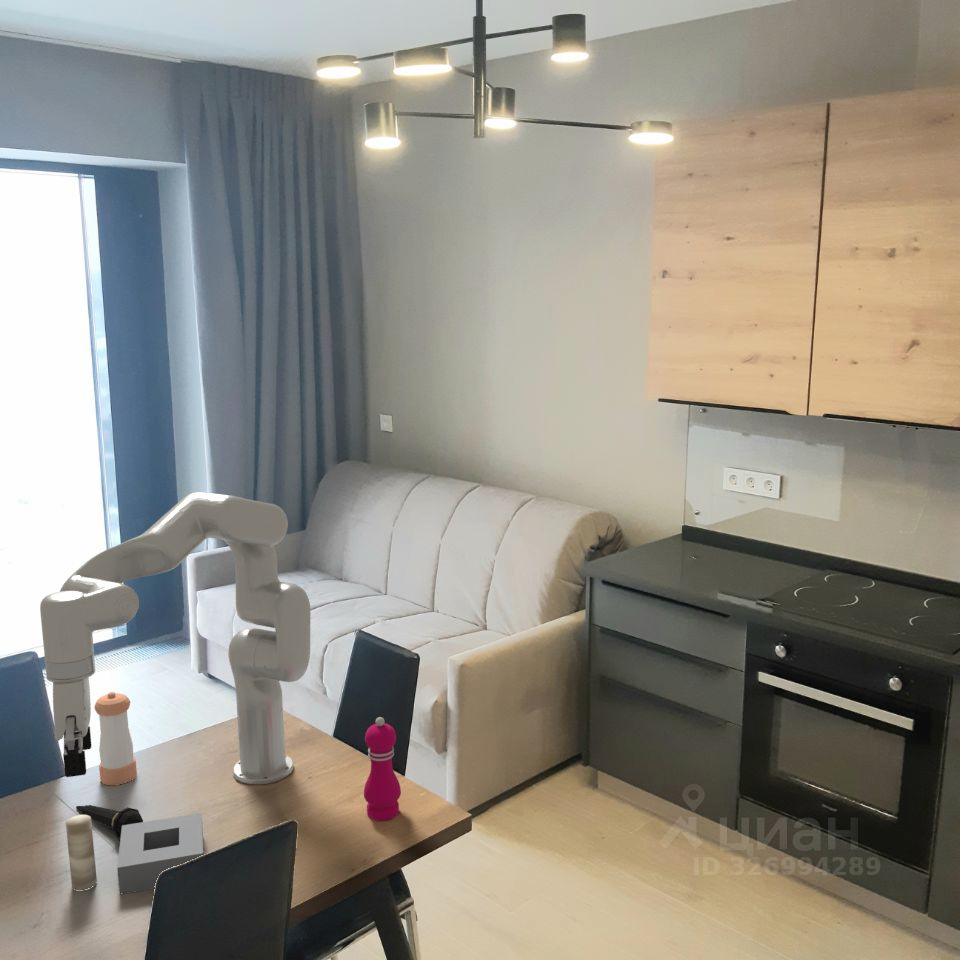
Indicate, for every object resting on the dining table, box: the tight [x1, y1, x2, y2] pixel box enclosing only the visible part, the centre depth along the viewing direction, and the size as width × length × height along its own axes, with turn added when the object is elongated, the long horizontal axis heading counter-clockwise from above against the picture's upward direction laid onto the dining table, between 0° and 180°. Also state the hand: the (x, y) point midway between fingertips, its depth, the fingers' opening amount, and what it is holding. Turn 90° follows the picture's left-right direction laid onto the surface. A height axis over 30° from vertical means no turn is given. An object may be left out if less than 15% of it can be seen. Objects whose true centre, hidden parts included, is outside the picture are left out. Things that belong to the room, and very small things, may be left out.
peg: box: [65, 814, 98, 891], centre depth 164 cm, size 4×4×12 cm
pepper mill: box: [363, 716, 402, 822], centre depth 186 cm, size 7×7×20 cm
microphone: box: [75, 804, 144, 839], centre depth 184 cm, size 6×6×20 cm
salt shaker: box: [94, 691, 138, 786], centre depth 201 cm, size 7×7×19 cm
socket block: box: [117, 812, 205, 895], centre depth 170 cm, size 14×14×5 cm
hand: (78, 762), depth 161 cm, fingers open, 9 cm apart
